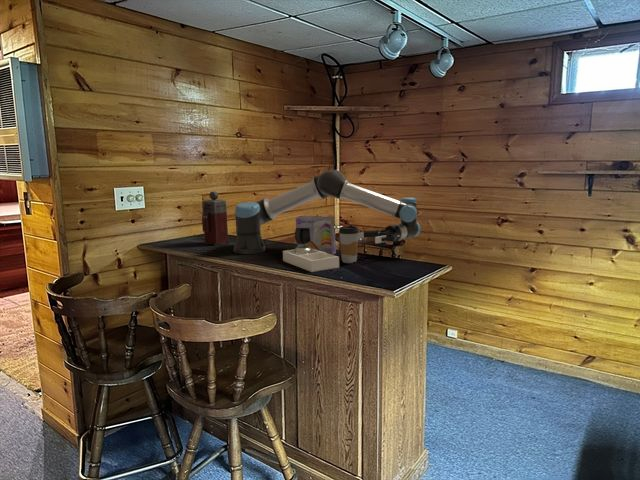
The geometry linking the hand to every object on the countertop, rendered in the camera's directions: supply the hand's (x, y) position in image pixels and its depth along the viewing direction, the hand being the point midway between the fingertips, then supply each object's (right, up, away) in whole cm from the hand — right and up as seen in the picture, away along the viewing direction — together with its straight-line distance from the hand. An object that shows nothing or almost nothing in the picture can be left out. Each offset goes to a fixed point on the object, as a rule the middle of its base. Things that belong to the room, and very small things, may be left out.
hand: (364, 238), depth 211 cm
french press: (-75, -3, +45) cm, 88 cm away
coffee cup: (-7, -10, -4) cm, 13 cm away
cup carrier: (-24, -11, -7) cm, 27 cm away
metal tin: (-27, -9, -2) cm, 28 cm away
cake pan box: (-22, -7, +14) cm, 27 cm away
